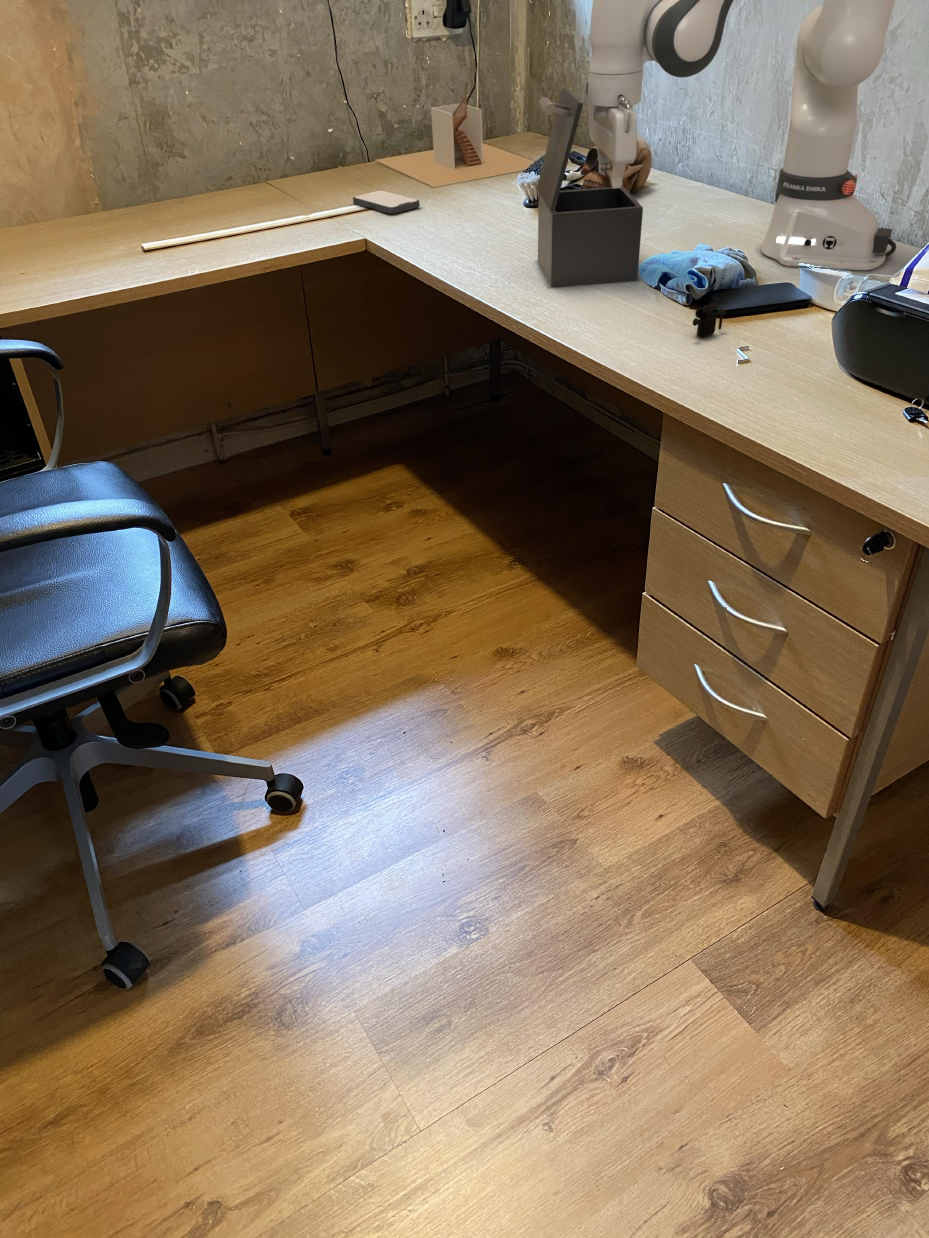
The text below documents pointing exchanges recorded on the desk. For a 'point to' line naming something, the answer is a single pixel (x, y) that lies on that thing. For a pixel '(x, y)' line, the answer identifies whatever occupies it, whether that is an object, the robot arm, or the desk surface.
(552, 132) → the bin lid
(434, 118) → the staircase
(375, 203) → the phone case
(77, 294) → the desk surface
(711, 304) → the black knobbed bracket
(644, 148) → the brown skull
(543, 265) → the waste bin
